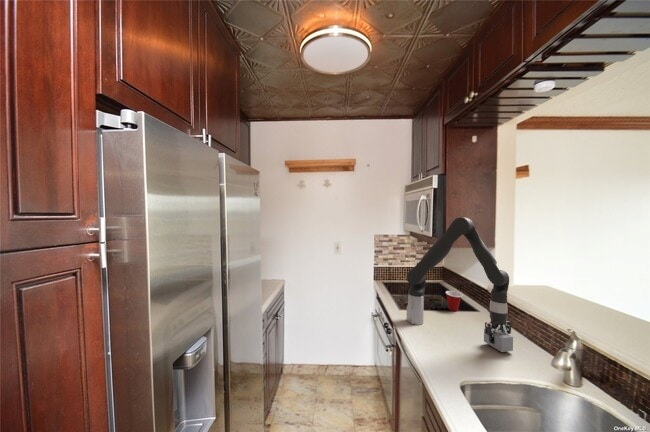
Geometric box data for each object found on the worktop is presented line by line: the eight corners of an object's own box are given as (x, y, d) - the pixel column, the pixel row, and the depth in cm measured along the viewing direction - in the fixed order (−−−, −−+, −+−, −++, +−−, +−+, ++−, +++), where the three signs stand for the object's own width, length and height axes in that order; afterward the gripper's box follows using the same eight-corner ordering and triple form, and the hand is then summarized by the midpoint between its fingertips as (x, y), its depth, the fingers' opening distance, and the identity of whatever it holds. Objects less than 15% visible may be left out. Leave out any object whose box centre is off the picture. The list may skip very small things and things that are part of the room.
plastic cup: (455, 313, 180) (455, 296, 180) (441, 308, 189) (442, 292, 189) (465, 311, 185) (466, 294, 185) (452, 306, 194) (452, 290, 194)
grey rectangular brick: (501, 352, 128) (501, 338, 128) (483, 341, 139) (484, 328, 139) (512, 350, 130) (513, 336, 130) (494, 340, 140) (494, 327, 140)
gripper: (504, 306, 139) (503, 337, 139) (480, 308, 136) (480, 340, 136) (517, 311, 132) (516, 344, 132) (492, 313, 129) (491, 347, 129)
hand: (497, 342), depth 134 cm, fingers closed on grey rectangular brick, 6 cm apart
